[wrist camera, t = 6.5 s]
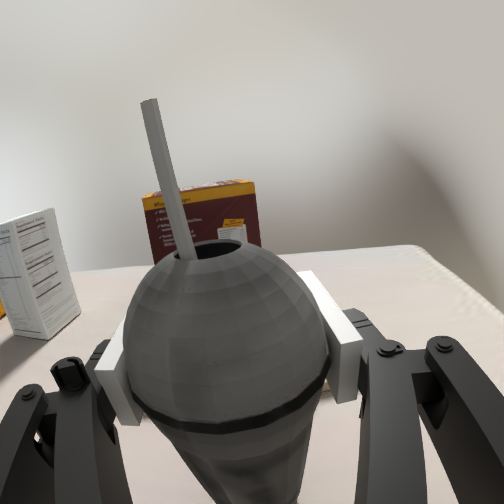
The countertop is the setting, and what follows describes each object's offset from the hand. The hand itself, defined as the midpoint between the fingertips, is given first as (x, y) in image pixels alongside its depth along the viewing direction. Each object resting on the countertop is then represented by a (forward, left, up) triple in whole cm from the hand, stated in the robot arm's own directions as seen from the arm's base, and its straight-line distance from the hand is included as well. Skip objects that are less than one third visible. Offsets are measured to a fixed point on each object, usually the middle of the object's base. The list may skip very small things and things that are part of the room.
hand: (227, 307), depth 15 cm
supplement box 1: (-30, +22, -11) cm, 39 cm away
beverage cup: (0, -5, -11) cm, 12 cm away
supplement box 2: (-4, +31, -11) cm, 33 cm away
